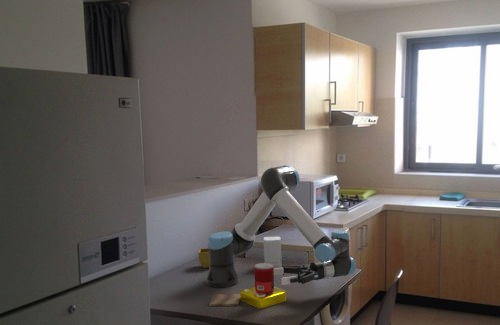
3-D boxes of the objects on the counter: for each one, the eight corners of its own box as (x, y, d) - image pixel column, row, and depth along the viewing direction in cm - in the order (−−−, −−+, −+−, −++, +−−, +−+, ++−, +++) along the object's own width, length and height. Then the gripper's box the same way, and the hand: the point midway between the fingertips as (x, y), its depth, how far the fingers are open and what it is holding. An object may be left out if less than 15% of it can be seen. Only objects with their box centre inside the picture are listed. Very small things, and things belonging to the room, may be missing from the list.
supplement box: (282, 268, 249) (281, 239, 248) (264, 269, 249) (263, 240, 248) (281, 263, 258) (280, 236, 257) (264, 264, 258) (263, 236, 257)
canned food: (276, 293, 197) (275, 266, 197) (257, 295, 195) (257, 268, 195) (271, 287, 205) (270, 262, 204) (252, 289, 203) (252, 263, 202)
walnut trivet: (209, 305, 198) (209, 304, 198) (213, 296, 210) (213, 294, 210) (238, 305, 197) (238, 303, 197) (241, 295, 209) (241, 294, 209)
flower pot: (215, 268, 253) (214, 252, 252) (198, 269, 253) (197, 252, 253) (216, 264, 262) (216, 248, 261) (200, 264, 262) (200, 248, 261)
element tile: (288, 301, 201) (287, 289, 201) (260, 310, 192) (259, 298, 192) (265, 292, 213) (265, 282, 213) (238, 300, 204) (237, 289, 204)
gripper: (336, 287, 194) (288, 294, 187) (308, 271, 217) (264, 277, 210) (335, 268, 193) (287, 275, 186) (307, 255, 217) (264, 260, 210)
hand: (275, 276), depth 198 cm, fingers open, 13 cm apart
